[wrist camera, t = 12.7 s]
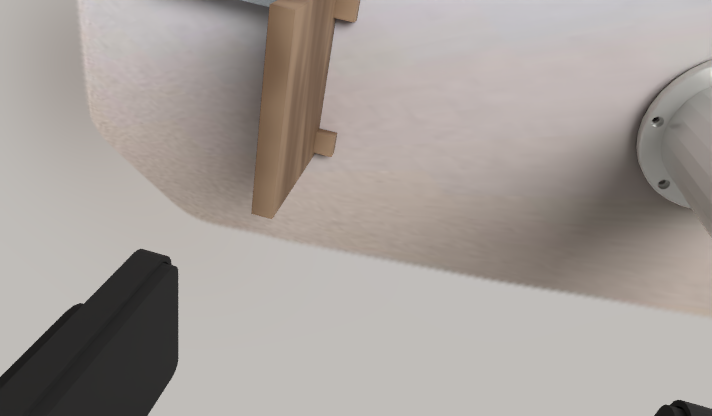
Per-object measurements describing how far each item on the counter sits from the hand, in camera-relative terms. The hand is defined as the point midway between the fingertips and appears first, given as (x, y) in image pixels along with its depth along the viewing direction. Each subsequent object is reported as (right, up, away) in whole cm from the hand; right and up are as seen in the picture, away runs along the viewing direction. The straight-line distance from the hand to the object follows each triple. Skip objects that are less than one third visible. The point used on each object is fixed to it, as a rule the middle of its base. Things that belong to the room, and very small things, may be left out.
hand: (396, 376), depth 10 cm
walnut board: (-4, +15, +35) cm, 38 cm away
